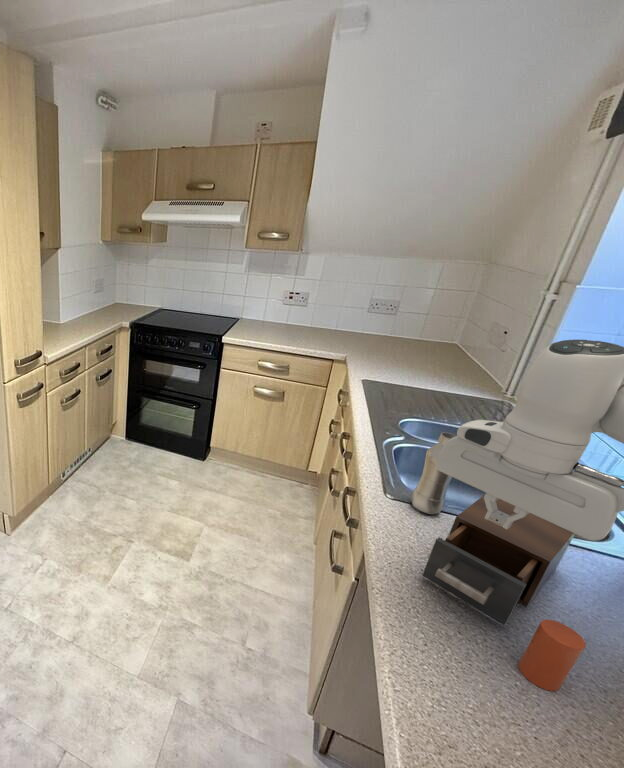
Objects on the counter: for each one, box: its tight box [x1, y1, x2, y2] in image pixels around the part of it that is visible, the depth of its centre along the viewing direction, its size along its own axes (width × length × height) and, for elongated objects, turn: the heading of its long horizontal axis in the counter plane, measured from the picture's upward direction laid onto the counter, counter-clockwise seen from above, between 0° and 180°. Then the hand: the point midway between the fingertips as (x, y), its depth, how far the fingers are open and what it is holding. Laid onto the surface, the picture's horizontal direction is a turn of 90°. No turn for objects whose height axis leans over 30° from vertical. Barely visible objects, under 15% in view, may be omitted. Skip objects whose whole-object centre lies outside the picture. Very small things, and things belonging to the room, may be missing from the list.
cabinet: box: [448, 494, 576, 608], centre depth 82 cm, size 17×14×11 cm
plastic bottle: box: [410, 432, 458, 515], centre depth 96 cm, size 6×7×20 cm
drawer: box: [421, 524, 542, 627], centre depth 75 cm, size 20×12×9 cm, turn 122°
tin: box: [517, 619, 587, 692], centre depth 61 cm, size 5×5×9 cm
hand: (496, 523), depth 66 cm, fingers closed
